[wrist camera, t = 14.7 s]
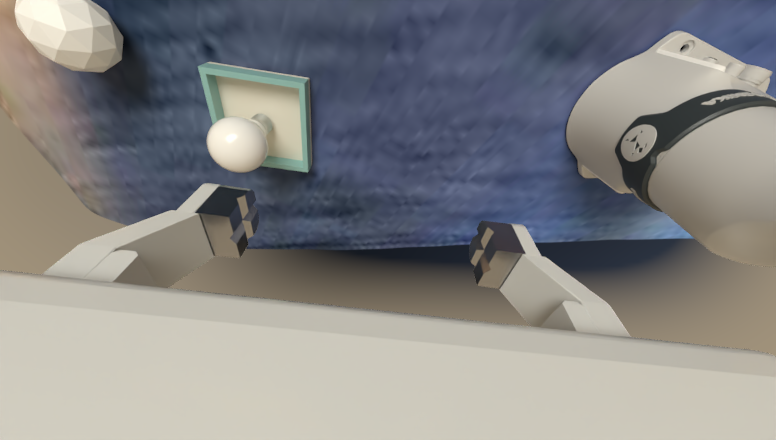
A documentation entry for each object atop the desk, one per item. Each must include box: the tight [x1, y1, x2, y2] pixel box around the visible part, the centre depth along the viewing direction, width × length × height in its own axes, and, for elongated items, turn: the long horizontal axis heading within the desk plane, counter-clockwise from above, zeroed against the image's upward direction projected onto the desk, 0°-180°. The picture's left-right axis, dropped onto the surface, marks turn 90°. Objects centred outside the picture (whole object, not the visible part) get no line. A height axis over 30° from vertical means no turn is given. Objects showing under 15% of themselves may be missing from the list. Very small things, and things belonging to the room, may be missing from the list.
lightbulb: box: [207, 114, 272, 173], centre depth 35 cm, size 6×6×11 cm
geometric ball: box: [15, 0, 123, 72], centre depth 30 cm, size 8×8×8 cm
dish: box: [198, 62, 312, 172], centre depth 39 cm, size 12×12×3 cm
